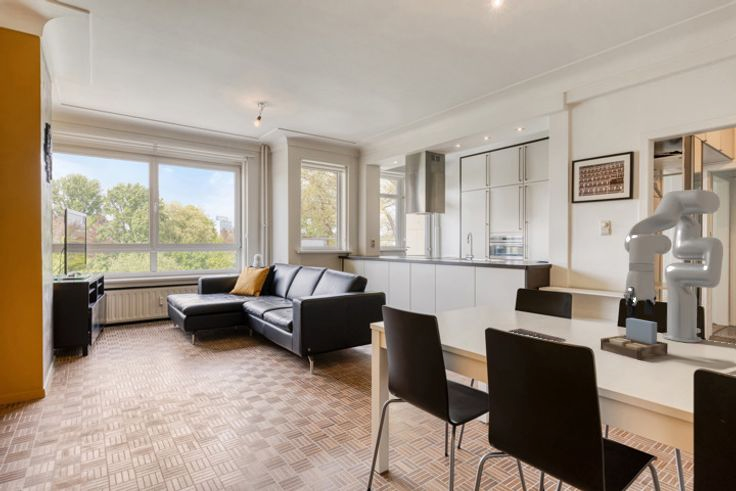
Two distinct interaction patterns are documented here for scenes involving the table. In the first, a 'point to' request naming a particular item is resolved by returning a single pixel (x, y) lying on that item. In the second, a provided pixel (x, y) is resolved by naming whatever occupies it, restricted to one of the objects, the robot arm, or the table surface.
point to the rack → (638, 354)
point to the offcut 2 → (634, 345)
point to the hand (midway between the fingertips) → (640, 315)
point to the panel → (641, 330)
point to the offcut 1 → (620, 341)
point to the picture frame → (536, 334)
